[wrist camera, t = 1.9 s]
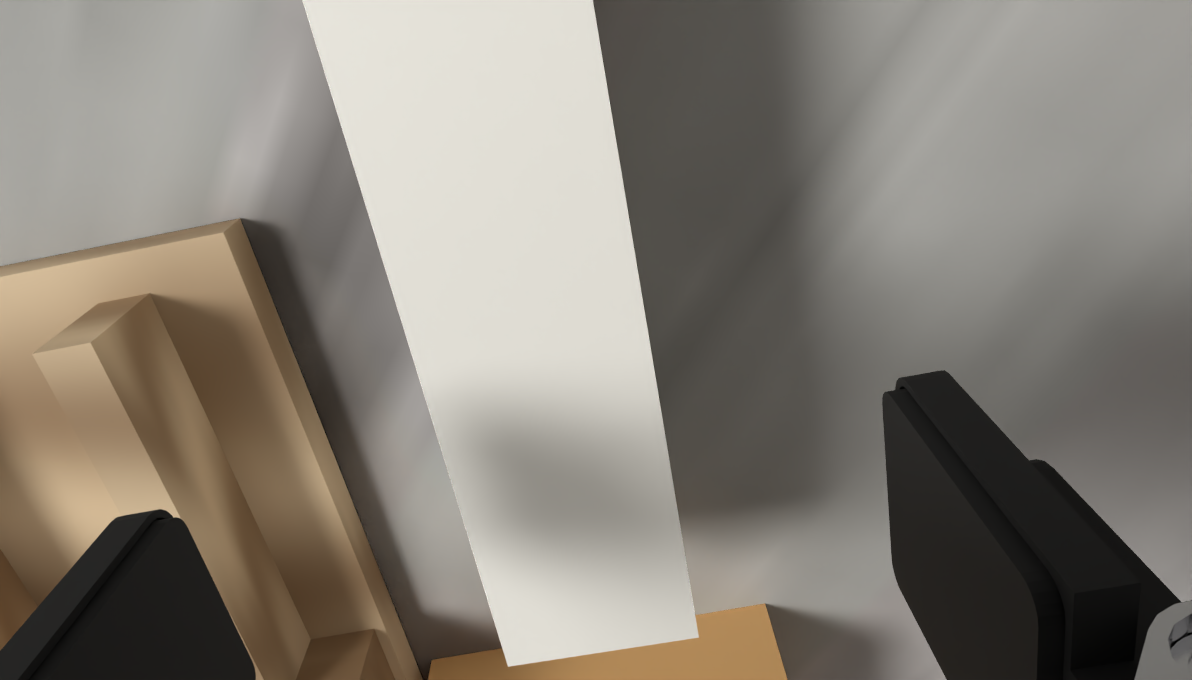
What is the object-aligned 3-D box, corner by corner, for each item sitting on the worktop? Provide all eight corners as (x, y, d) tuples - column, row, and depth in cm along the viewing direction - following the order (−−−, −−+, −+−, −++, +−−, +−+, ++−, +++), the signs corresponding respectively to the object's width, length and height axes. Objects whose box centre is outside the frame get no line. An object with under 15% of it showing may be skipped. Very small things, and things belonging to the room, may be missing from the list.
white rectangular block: (371, -70, 16) (278, -77, 11) (569, -110, 16) (570, -136, 11) (522, 498, 22) (507, 666, 17) (668, 474, 22) (698, 637, 17)
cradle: (-253, 317, 19) (-653, 499, 13) (239, 218, 19) (71, 359, 12) (95, 810, 27) (-50, 1074, 21) (452, 753, 26) (415, 1008, 20)
